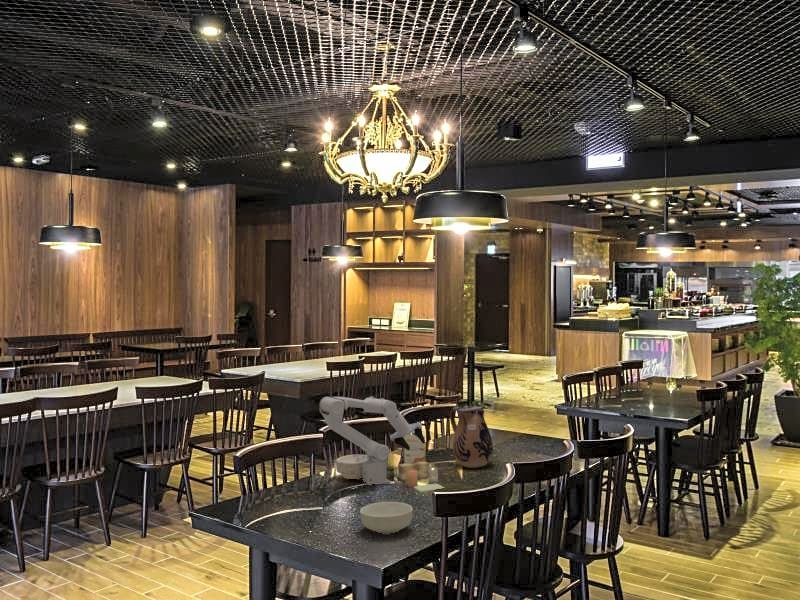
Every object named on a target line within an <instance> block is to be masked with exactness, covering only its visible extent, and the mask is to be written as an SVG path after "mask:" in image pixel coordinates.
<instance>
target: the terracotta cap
mask: <svg viewBox="0 0 800 600" xmlns="http://www.w3.org/2000/svg"><path fill="white" fill-rule="evenodd" d="M418 484H419V483H418V480H417V470H415V469H410V470H407V481H406V485H407V487H408V488H414V487H415V486H419V485H418Z"/></svg>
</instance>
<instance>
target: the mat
mask: <svg viewBox="0 0 800 600" xmlns="http://www.w3.org/2000/svg"><path fill="white" fill-rule="evenodd" d="M442 488H445V487H444V486H442V485H441V484H439V483H438V484H437V483H436V484H429V483H428V484H424V485H418V486H415V487H413V489H415V491H418V492H419V493H421V494H422V493H428V492H429V493H430V492H435V491H434V490H436V489H442Z"/></svg>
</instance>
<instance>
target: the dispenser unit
mask: <svg viewBox="0 0 800 600" xmlns="http://www.w3.org/2000/svg"><path fill="white" fill-rule="evenodd" d="M397 466H398V467H397V468H398V471H397V472H398V476H397V477H396V479H397V480H398V479H399V480H398V481H400V482H401V481H403V482H407V470H410V469H415V470H417V481H418V480H423V479H424V480H425V479H428V467H430V463H429V462H427V460H426V461H420V462H412V463H405V462H404V463H398V465H397Z"/></svg>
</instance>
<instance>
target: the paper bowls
mask: <svg viewBox="0 0 800 600" xmlns="http://www.w3.org/2000/svg"><path fill="white" fill-rule="evenodd" d="M364 461H368V456H367V455H366V454H358V453H357V454H349V455H343V456H340V457H338V458H336V460H335V464H336V465H335V466H336V468H335V469H336V472H337V473H338V474H341V476H342V478H343V477H344V478H343V479H345V478H346V479H345V480H348V479H357V480H361V479H360V478H363V473H362V465H363V462H364Z"/></svg>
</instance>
